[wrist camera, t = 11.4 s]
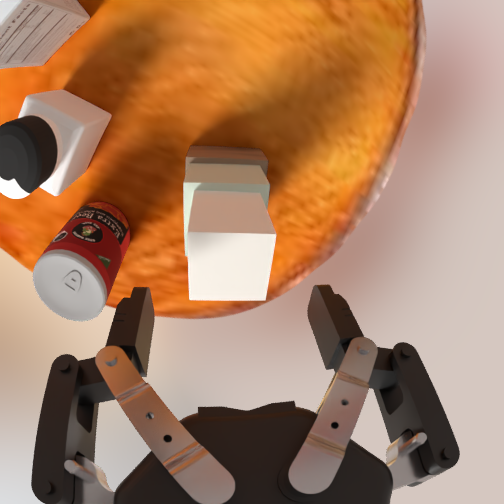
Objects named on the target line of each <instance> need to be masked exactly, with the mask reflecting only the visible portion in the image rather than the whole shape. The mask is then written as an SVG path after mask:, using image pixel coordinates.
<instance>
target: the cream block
mask: <svg viewBox="0 0 504 504" xmlns="http://www.w3.org/2000/svg"><path fill="white" fill-rule="evenodd" d="M187 238H188V277H189V300H266V294H267V288H268V282H269V276H270V270H271V264H272V258H273V252H274V246H275V240H276V232H275V229H274V227H273V224H272V222H271V219H270V217H269V214H268V212H267V209H266V207H265V204H264V202H263V199H262V197H261V194H260V193H257V192H236V191H206V190H194V194H193V200H192V206H191V212H190V218H189V225H188V232H187Z"/></svg>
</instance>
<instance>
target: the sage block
mask: <svg viewBox="0 0 504 504" xmlns="http://www.w3.org/2000/svg"><path fill="white" fill-rule="evenodd" d="M183 190H184V237H185V256H188V238H187V232H188V225H189V218H190V212H191V206H192V200H193V194H194V190H206V191H236V192H257V193H260V194H261V197H262V199H263V202H264V204H265V207H266V209H267V207H268V198H269V190H270V184H269V182H268V180H267V178H266V176H265V174H264V172H263V170H262V169H261V167H260V165H241V164H206V163H189V166H188V169H187V172H186V176H185V179H184V182H183Z"/></svg>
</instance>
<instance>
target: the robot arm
mask: <svg viewBox="0 0 504 504" xmlns="http://www.w3.org/2000/svg"><path fill="white" fill-rule="evenodd" d="M308 319H309V322H310V325H311V328H312V330H313V333H314V336H315V339H316V342H317V345H318V348H319V350H320V353H321V356H322V359H323V362H324V365H325V368H326V369H327V370H328V369H334V371H335V375H334V376H333V379H332V381H331V383H330V385H329V387H328V389H327V391H326V393H325V396H324V398H323V400H322V402H321V404H320V405H319V407H318V409H317V411H316V413H314V412H312V411H310V410H307V409H304V408H300V407H296V406H295V402H294V401H289V402H280V403H271V404H268V405H265V406H262V407H259V408H256V409H253V410H249V411H245V410H238V409H233V408H227V407H198V413H196V414H192V415H190V416H187V417H185V418H183V419H182V420H180V421H178V420H177V418H176V417H175V416H174V415H173V414H172V412H171V411H170V410H169V409H168V407H167V406H166V405H165V404H164V402H163V401H162V400H161V399H160V397H159V396H158V395H157V394H156V392H155V391H154V390H153V388H152V387H151V386H150V385H149V384H148V383H146V382H145V381H144V380H143V379H142V377H146V376H147V369H148V361H149V354H150V347H151V340H152V333H153V327H154V308H153V303H152V298H151V293H150V289H149V287H134V288H133V290H132V294H131V297H130V298H123V299H122V300H121V301H120V303H119V304H118V305H117V308H116V312H115V315H114V318H113V322H112V325H111V329H110V332H109V336H108V339H107V343H106V346H105V347H104V348H103V349H101V350H100V351H99V352H98V353H97V355H96V357H93V358H90V359H85V360H80V361H78V360H77V359H76V358H75V357H74V356H72V355H68V354H65V355H61V356H59V357H57V358H56V359H55V360H54V362H53V364H52V367H51V370H50V374H49V378H48V382H47V386H46V390H45V394H44V399H43V403H42V408H41V414H40V418H39V424H38V430H37V436H36V443H35V450H34V459H33V469H32V482H31V486H32V490H33V492H34V494H35V496H36V497H37V498H38V499H39V500H40V501H41V502H43V503H45V504H390V498H391V494H392V490H395V489H398V488H401V487H403V486H406V485H407V486H411V487H413V486H416V485H418V484H421V483H423V482H425V481H427V480H429V479H431V478H433V477H435V476H436V475H439V474H440V473H442V472H444V471H446V470H448V469H450V468H451V467H453V466H454V465H455V464H456V463H457V461H458V459H459V455H460V453H459V447H458V445H457V442H456V439H455V437H454V434H453V432H452V429H451V426H450V424H449V421H448V419H447V416H446V414H445V411H444V409H443V407H442V405H441V402H440V400H439V397H438V395H437V393H436V391H435V388H434V386H433V384H432V382H431V380H430V378H429V375H428V373H427V371H426V369H425V367H424V365H423V363H422V361H421V359H420V357H419V355H418V353H417V351H416V349H415V348H414V347H413V346H412V345H410V344H408V343H404V342H402V343H398V344H396V345H395V346H394V348H393V349H387V348H380V347H377V346H376V344H375V343H374V342H373V341H372V340H370V339H368V338H366V337H364V335H363V333H362V331H361V329H360V327H359V325H358V323H357V321H356V319H355V317H354V316H353V314H352V312H351V310H350V307H349V305H348V303H347V302H346V300H345V299H344V298H343V297H342V296H340V295H339V294H334V292H333V290H332V288H331V286H330V285H315V286H314V287H313V290H312V294H311V298H310V302H309V305H308ZM369 388H372V389H374V392H375V395H376V398H377V401H378V404H379V407H380V411H381V413H382V417H383V420H384V423H385V426H386V429H387V432H388V436H389V439H390V442H391V444H390V445H389V447H388V449H387V452H386V457H387V458H386V461H387V462H386V464H385V463H384V462H383V461H382V460H380V459H379V458H377V457H376V456H374V455H373V454H371V453H370V452H368V451H367V450H366V449H364V448H363V447H361V446H360V445H358V444H357V443H356V442H354V441H353V440H351V439H350V437H351V435H352V433H353V430H354V428H355V425H356V423H357V420H358V418H359V415H360V412H361V409H362V407H363V404H364V401H365V399H366V396H367V393H368V390H369ZM115 399H116V400H117V401H118V403H119V405H120V406H121V408H122V409H123V411H124V412H125V414H126V415H127V417H128V418H129V420H130V421H131V423H132V424H133V425H134V427H135V429H136V430H137V431H138V432H139V434H140V435H141V437H142V438H143V440H144V441H145V442H146V444H147V445H148V446H149V448H150V449H151V450H152V451H151V452H150V453H149V454H148V455H147V456H146V457H145V458H144V459H143V460H142V461H141V462H140V464H139V465H138V466H137V467H136V468H135V469H134V470H133V471H132V472H131V473H130V474H129V475H128V476H127V477H126V478H125V479H124V480H123V481H122V483H121V484H120V485H119V486H118V487H117V489H116V491H115V492H113V491H112V490H111V489H110V488H109V486H108V484H107V480H106V476H105V473H104V472H103V470H102V469H101V468H100V467H99V466H97V465H96V464H94V457H95V439H96V427H97V416H98V407H99V403H100V402H105V401H110V400H115Z"/></svg>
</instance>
